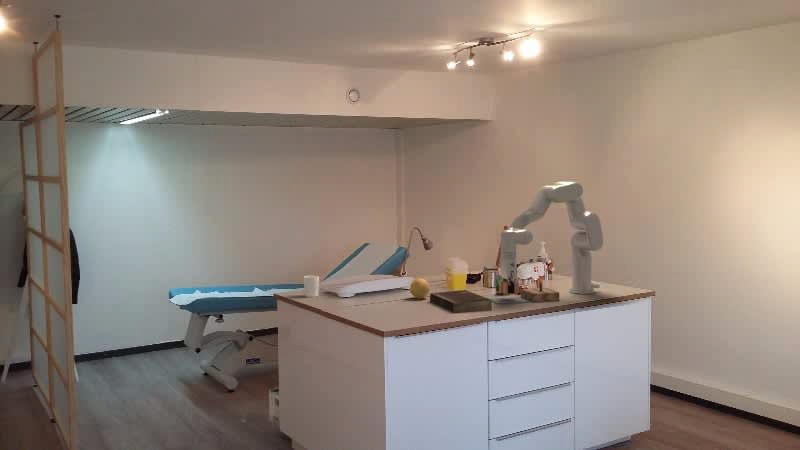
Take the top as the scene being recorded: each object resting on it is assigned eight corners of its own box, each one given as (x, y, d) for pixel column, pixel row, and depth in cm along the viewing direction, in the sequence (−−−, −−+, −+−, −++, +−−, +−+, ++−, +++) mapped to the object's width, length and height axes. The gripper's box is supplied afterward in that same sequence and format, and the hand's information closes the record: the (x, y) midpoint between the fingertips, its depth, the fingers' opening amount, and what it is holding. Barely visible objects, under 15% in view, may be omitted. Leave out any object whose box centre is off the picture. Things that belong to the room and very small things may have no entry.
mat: (518, 297, 358) (518, 296, 358) (529, 302, 346) (529, 301, 346) (487, 299, 355) (487, 298, 355) (497, 304, 342) (497, 303, 342)
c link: (512, 291, 354) (512, 280, 354) (518, 293, 347) (518, 282, 347) (499, 292, 353) (499, 280, 352) (504, 294, 346) (505, 283, 345)
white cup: (320, 294, 372) (320, 275, 371) (317, 297, 364) (317, 277, 363) (305, 294, 372) (305, 275, 372) (302, 297, 365) (301, 277, 364)
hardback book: (429, 302, 351) (429, 292, 350) (465, 300, 357) (465, 290, 356) (453, 313, 323) (453, 302, 323) (491, 310, 330) (491, 299, 329)
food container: (505, 296, 365) (505, 276, 364) (494, 294, 368) (494, 275, 367) (516, 292, 374) (516, 273, 374) (506, 291, 378) (506, 272, 377)
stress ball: (428, 298, 363) (415, 284, 367) (436, 285, 357) (423, 271, 361) (415, 304, 356) (402, 290, 360) (423, 291, 350) (410, 277, 354)
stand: (546, 295, 364) (546, 279, 363) (559, 300, 350) (559, 283, 350) (520, 297, 360) (520, 280, 360) (532, 302, 347) (532, 285, 346)
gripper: (522, 257, 341) (522, 294, 342) (508, 253, 358) (508, 289, 359) (508, 258, 339) (507, 295, 341) (494, 253, 356) (493, 289, 357)
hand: (507, 291), depth 350 cm, fingers closed on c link, 7 cm apart
